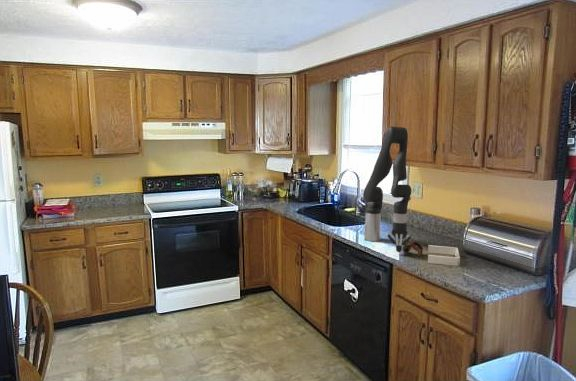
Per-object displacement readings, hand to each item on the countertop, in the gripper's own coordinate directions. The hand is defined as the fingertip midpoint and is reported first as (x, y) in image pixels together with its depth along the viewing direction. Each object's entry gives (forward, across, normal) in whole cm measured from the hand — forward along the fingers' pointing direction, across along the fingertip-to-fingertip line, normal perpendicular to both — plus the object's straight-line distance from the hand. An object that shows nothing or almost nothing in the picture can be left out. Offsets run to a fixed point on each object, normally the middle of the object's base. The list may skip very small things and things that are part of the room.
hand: (398, 251), depth 220 cm
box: (+2, -22, 0) cm, 22 cm away
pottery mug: (+2, -6, -2) cm, 7 cm away
